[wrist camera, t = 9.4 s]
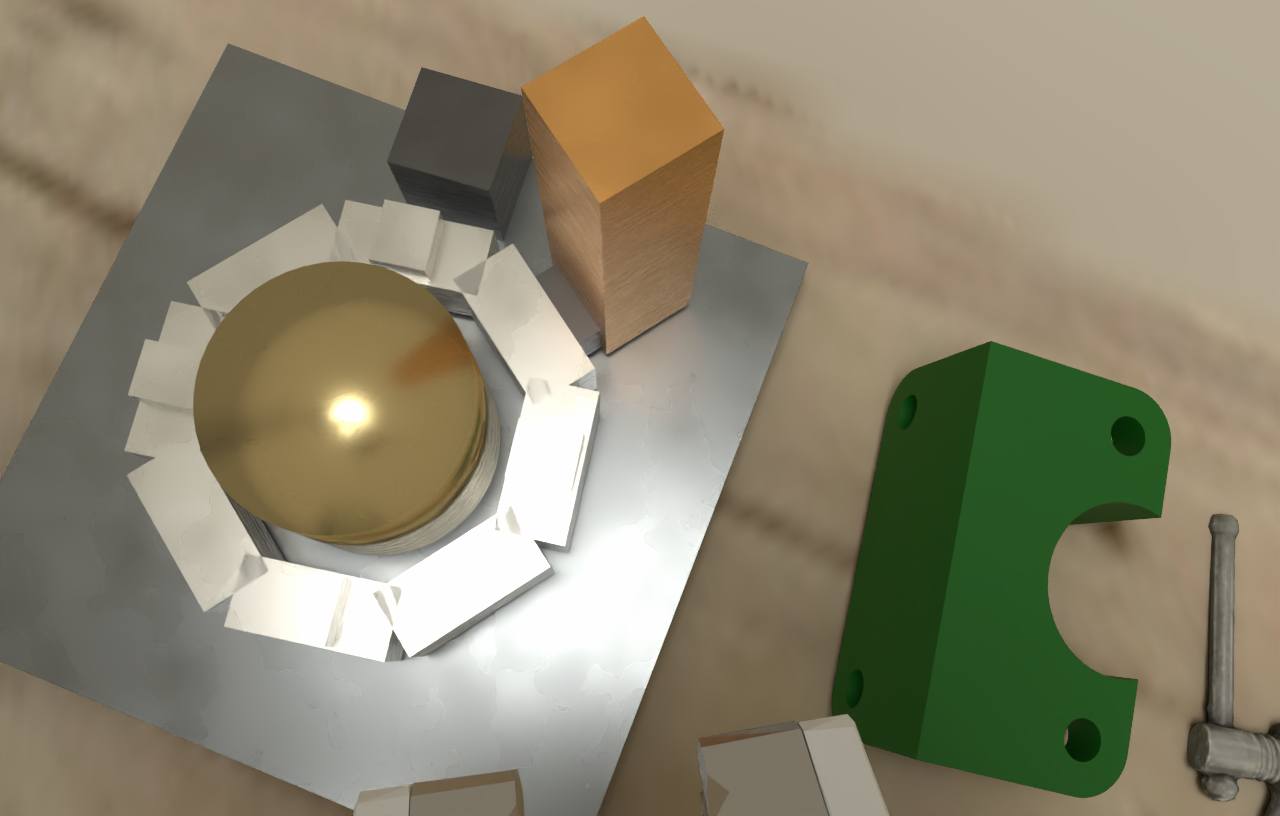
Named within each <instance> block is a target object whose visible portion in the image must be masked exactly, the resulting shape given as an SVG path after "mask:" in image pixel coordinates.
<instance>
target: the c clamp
mask: <svg viewBox="0 0 1280 816" xmlns="http://www.w3.org/2000/svg"><path fill="white" fill-rule="evenodd" d="M1208 527H1209V529H1210V532H1211V535H1212V545H1211V582H1210V656H1209V704H1208V707H1207V711H1208V712H1209V723H1199V724H1196V725H1195V726H1194V727H1193V728H1192V729H1191V731H1190V734H1189V737H1188V747H1187V755H1188V760H1189V762H1190V764H1191V766H1192V767H1193V768H1194V769H1195V770H1198V771H1200V772H1201V773H1202V774H1203V775H1204V776H1203V778H1202V780H1201V784H1202V787H1203V791H1204V793H1205V794H1206V795H1208V796H1209V797H1210V798H1212V800H1215V801H1230V800H1234V799H1235V797H1236V795H1237V793H1238V792H1239V787H1238V785H1237V780H1238V779H1239V778H1246V779H1254V778H1255V779H1256V780H1258V781H1259V782H1260V781H1264V780H1265V781H1266V784H1267V786H1268V787H1269V789H1270V792H1271V801H1270V803H1269V806H1268V808H1267V810H1266V813H1265V815H1264V816H1280V724H1277V725H1274V726H1273V727H1272V728H1270V730H1269V732H1268V734H1266V735H1262V734H1258V733H1251V732H1249V731H1246V730H1242V729H1238V728H1234V727H1233V719H1234V717H1233V699H1234V579H1235V564H1234V558H1235V539H1236V537H1237V535H1238V533H1239V525H1238V520H1237V519H1236V518H1235V517H1234V516H1231V515H1224V514H1217V515H1213V516H1212V517H1211V519H1210V522H1209V526H1208Z"/></svg>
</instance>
